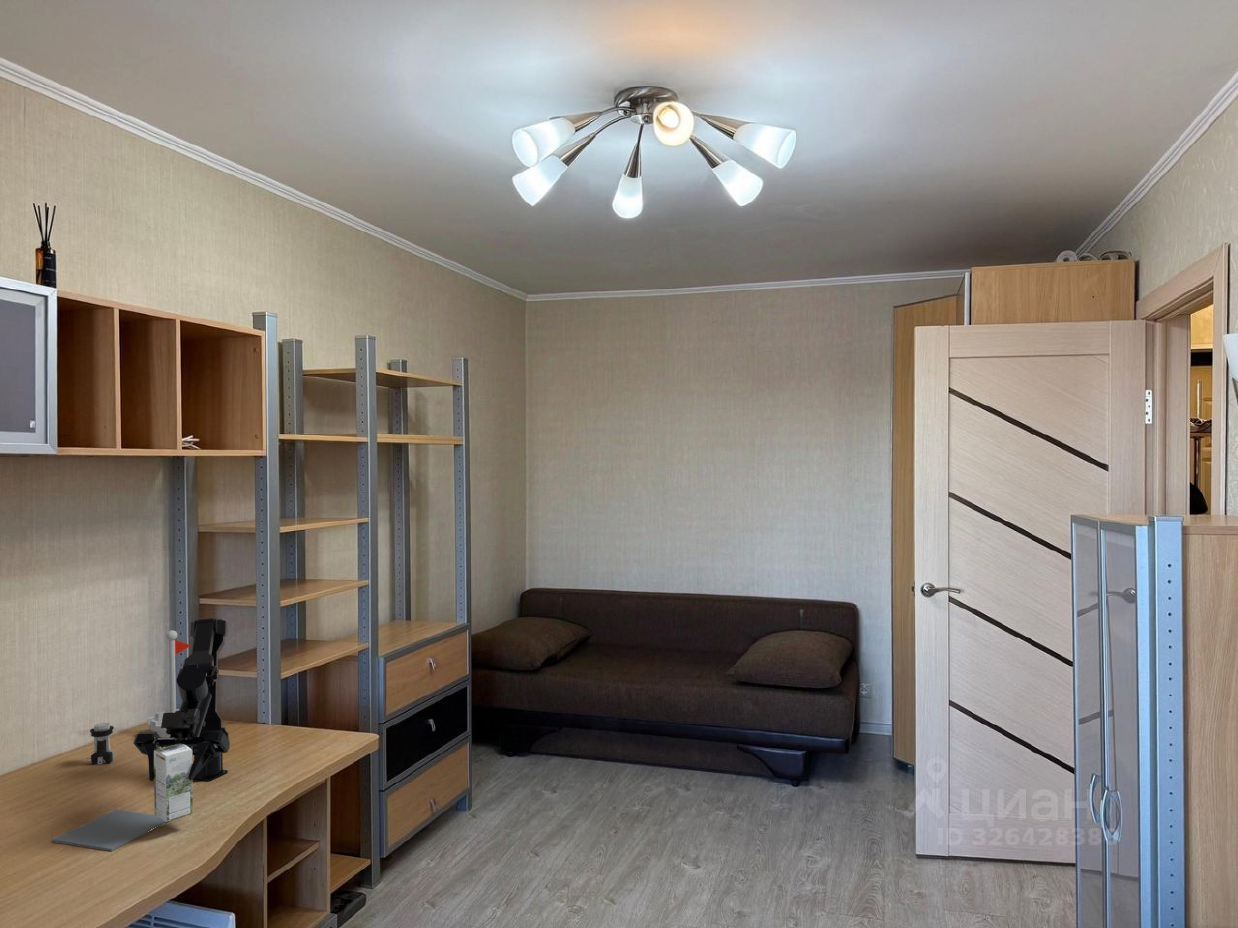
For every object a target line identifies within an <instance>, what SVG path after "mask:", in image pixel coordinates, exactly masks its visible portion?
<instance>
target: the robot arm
mask: <svg viewBox="0 0 1238 928" xmlns="http://www.w3.org/2000/svg"><path fill="white" fill-rule="evenodd" d="M189 629H190V630H189V631H190V632H189V637H190V639H192V640H193V641H192V642H193V643H192V648H191V653H190V655H189V656H187V657H185V658H184V661H183V664H182V668H180V669H179V671H178V673H177V677H176V686H177V689H178V693H179V697H180V700H182V701H181V703H180V706H179V708H178V709H179V711H176V712H175V713H170V712H165V713H163V718H162V723H161V728H166V733H167V734H170V737H169V738H161V737H160V736H159V735H158V733H157V732H152V731H139V733H137V734H136V735H135V738H134V740H133V744H134V746H135V747H136V748H137V749H138V751H139V752H140V753H141V754H142V755H146V756H147V761H148V779H149V781H150V782H154V750H157V749H161V748H165V747H168V746H172V745H176V744H184V745H186V746H188V747H189V748H191V749H192V756H193V760H192V767H191V770H190V773H189V778H188V779H189V780H192V781H193V780H197V781H205V780H206V781H207V782H211V781H213V780H215V779H217V778H219V777H222V776H224V775H225V774H227V773H228V772H229V770H227V769H223V768H224V766H223V765H224V763H223V759H224V758H223V754H226V753H228V752H229V750H230V745H231V744H230V736H229V732H228V731H227V729H226V726H225V727H224V721H223V719H222V718H221V716H220V715H219V713H218V709H217V708H218V678H219V676H220V670H219V669H218V668H219V666H218V665H219V654H220V652H221V651H222V649H223V647H224V646H225V644H226V643H225V641H226V637H228V634H229V630H228V629H229V625H228V622H227V620H223V618H215V617H205V618H204V617H203V618H202V617H201V618H197V619H194V621H192V622H190V627H189Z"/></svg>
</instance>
